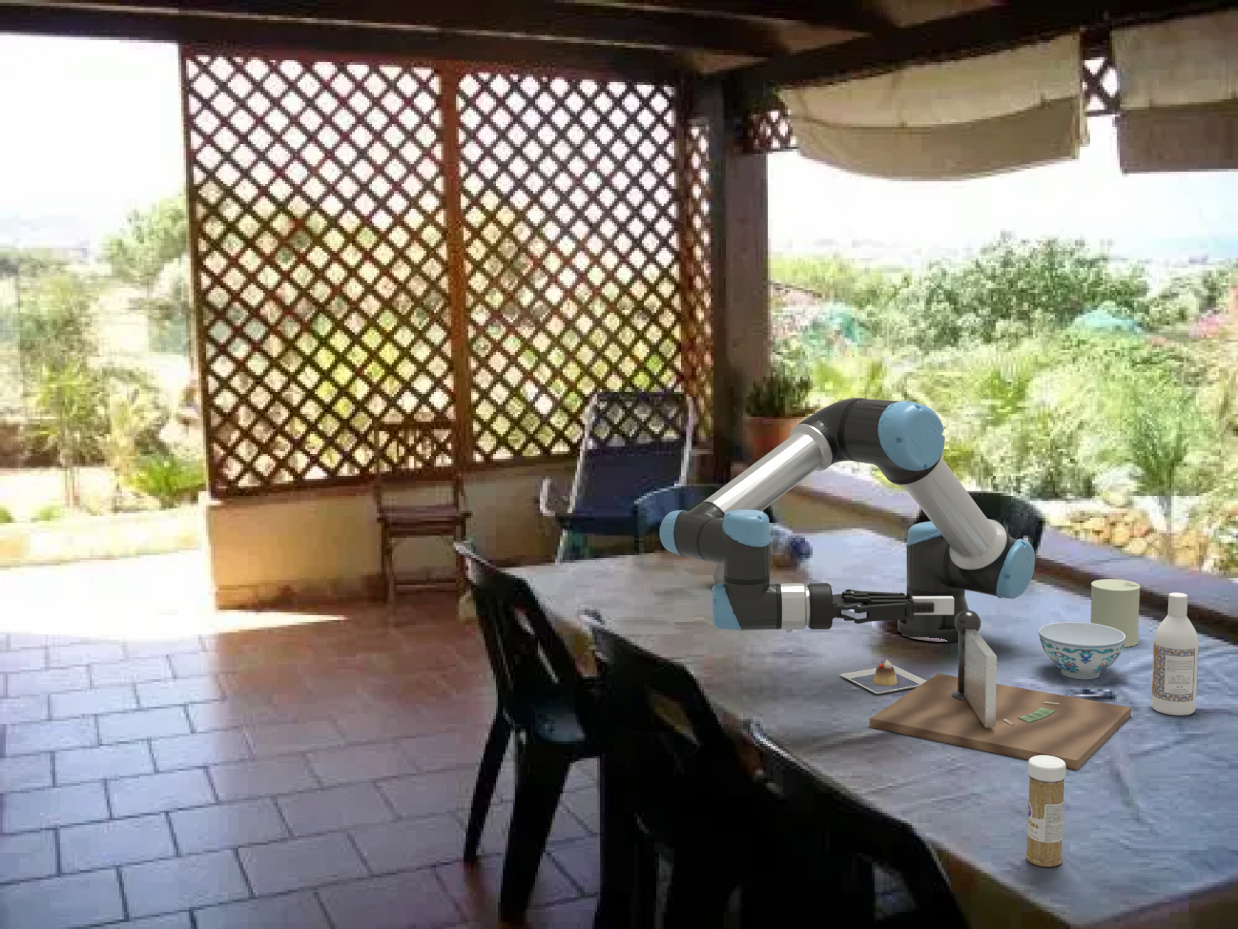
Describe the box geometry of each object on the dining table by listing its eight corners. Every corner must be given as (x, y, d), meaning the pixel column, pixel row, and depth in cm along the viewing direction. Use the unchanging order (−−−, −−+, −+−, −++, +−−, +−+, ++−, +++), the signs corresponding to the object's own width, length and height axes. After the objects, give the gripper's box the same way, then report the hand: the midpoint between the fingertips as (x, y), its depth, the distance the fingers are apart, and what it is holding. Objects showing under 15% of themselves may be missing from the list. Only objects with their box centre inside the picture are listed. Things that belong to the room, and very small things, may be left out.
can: (1142, 648, 257) (1144, 588, 255) (1092, 647, 259) (1094, 587, 257) (1134, 635, 266) (1136, 577, 264) (1086, 633, 267) (1087, 576, 266)
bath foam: (1159, 700, 227) (1163, 587, 224) (1201, 708, 223) (1206, 593, 220) (1145, 711, 222) (1149, 595, 219) (1188, 719, 218) (1193, 602, 215)
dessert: (839, 680, 244) (839, 655, 243) (893, 670, 249) (893, 646, 248) (876, 699, 233) (876, 673, 232) (932, 689, 238) (932, 663, 237)
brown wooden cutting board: (869, 727, 218) (869, 716, 218) (938, 681, 240) (938, 671, 240) (1077, 770, 198) (1077, 758, 198) (1130, 716, 220) (1131, 705, 220)
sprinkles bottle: (1019, 854, 171) (1021, 755, 169) (1052, 851, 172) (1054, 752, 169) (1036, 870, 166) (1039, 769, 164) (1070, 866, 167) (1073, 765, 165)
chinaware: (1068, 690, 233) (1070, 648, 232) (1021, 666, 248) (1022, 626, 247) (1141, 681, 237) (1143, 640, 236) (1091, 658, 252) (1092, 618, 250)
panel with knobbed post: (951, 687, 230) (952, 607, 227) (976, 687, 229) (978, 606, 227) (976, 727, 210) (977, 640, 208) (1004, 727, 210) (1006, 639, 208)
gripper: (803, 618, 222) (944, 617, 221) (810, 640, 209) (961, 639, 208) (803, 574, 221) (945, 573, 220) (810, 593, 208) (962, 592, 207)
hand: (952, 605), depth 214 cm, fingers closed
